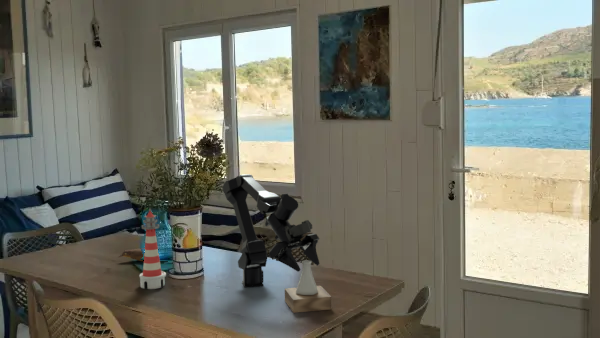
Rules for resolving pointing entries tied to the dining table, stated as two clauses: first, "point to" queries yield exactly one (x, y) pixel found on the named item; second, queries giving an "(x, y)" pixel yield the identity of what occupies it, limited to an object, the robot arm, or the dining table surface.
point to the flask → (306, 280)
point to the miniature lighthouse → (151, 257)
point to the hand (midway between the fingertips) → (309, 267)
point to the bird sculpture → (133, 254)
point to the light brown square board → (307, 300)
